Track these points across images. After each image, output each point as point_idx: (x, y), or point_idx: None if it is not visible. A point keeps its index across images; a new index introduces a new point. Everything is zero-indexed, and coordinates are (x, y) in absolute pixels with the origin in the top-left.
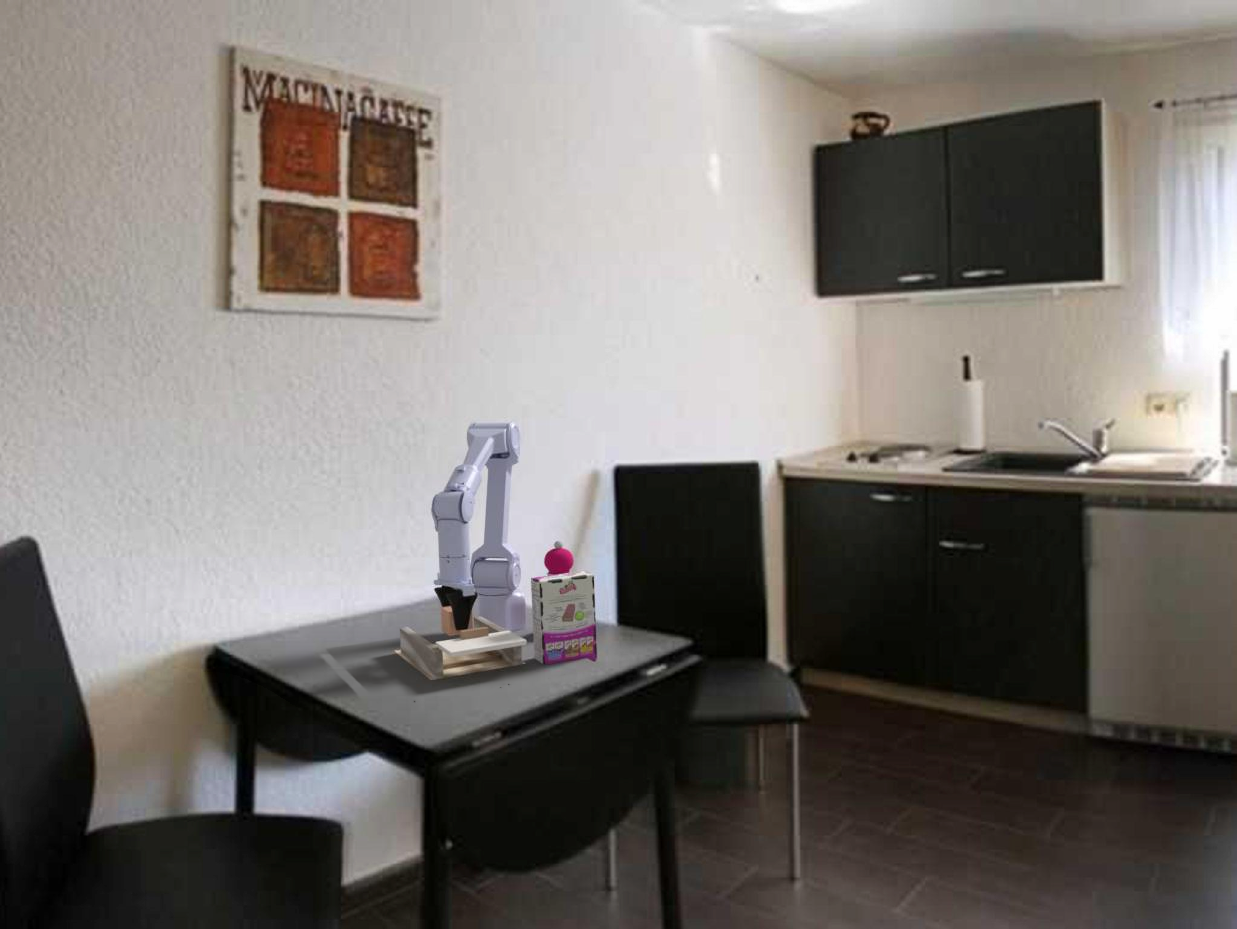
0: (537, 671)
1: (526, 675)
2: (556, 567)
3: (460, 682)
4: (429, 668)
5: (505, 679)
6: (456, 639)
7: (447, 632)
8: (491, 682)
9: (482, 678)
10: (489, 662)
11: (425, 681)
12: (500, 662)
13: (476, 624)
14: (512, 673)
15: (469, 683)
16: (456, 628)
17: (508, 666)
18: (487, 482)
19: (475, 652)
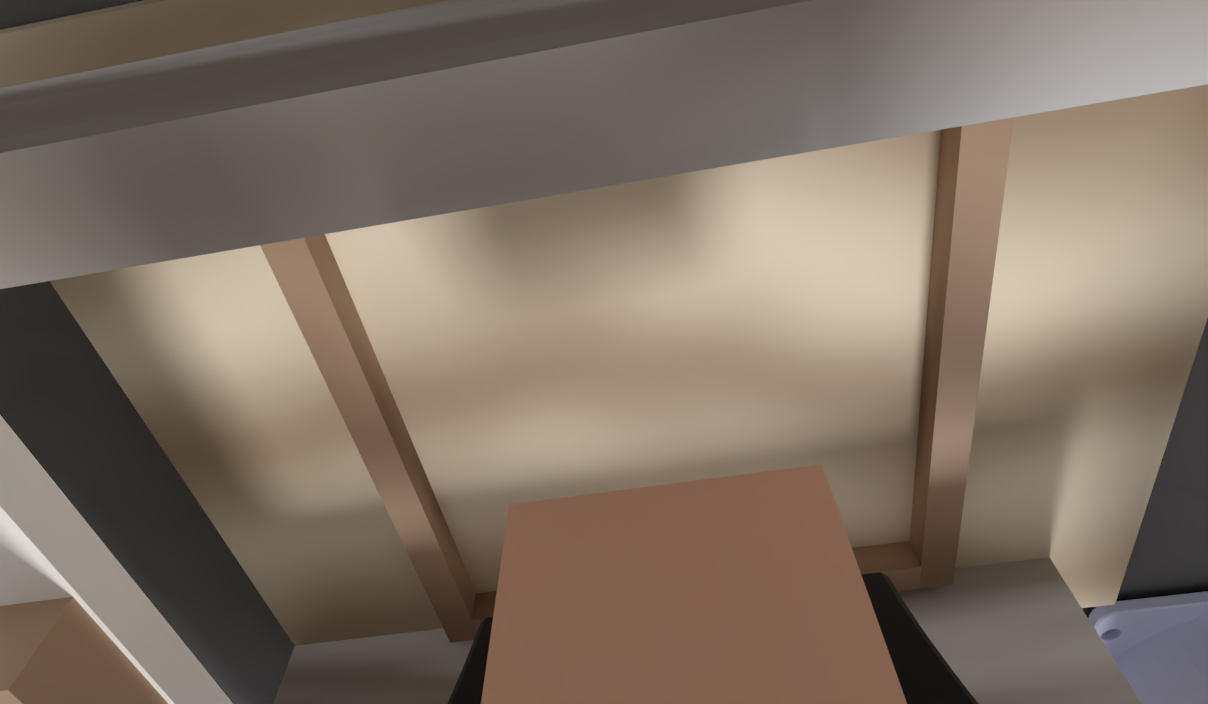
0: (268, 688)
1: (196, 641)
2: None
3: (56, 297)
4: (52, 89)
5: (120, 549)
6: (11, 562)
7: (599, 511)
8: (52, 476)
9: (157, 445)
10: (402, 550)
11: (102, 2)
12: (383, 598)
13: (1061, 700)
14: (251, 596)
15: (27, 352)
16: (479, 637)
17: (278, 617)
18: None
19: None
